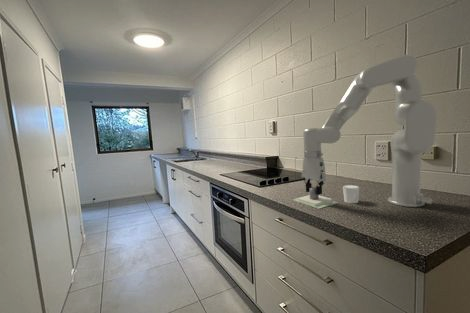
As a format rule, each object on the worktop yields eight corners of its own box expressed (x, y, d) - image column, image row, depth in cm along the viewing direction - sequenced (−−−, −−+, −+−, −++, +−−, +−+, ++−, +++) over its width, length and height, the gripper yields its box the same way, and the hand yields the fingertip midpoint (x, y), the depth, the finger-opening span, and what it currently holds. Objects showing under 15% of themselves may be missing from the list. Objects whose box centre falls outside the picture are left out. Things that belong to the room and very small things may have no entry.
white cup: (345, 198, 107) (344, 184, 106) (361, 200, 102) (360, 185, 102) (341, 202, 101) (341, 187, 101) (358, 204, 97) (357, 189, 96)
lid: (331, 201, 102) (331, 188, 102) (315, 206, 97) (314, 192, 96) (313, 196, 112) (312, 184, 111) (297, 200, 107) (296, 188, 106)
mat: (337, 203, 100) (337, 202, 100) (318, 209, 95) (318, 208, 95) (310, 195, 114) (310, 194, 114) (292, 200, 109) (292, 199, 109)
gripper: (334, 155, 96) (334, 195, 98) (304, 153, 112) (306, 188, 113) (322, 157, 93) (323, 198, 95) (293, 154, 108) (295, 190, 110)
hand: (313, 192), depth 104 cm, fingers open, 5 cm apart
